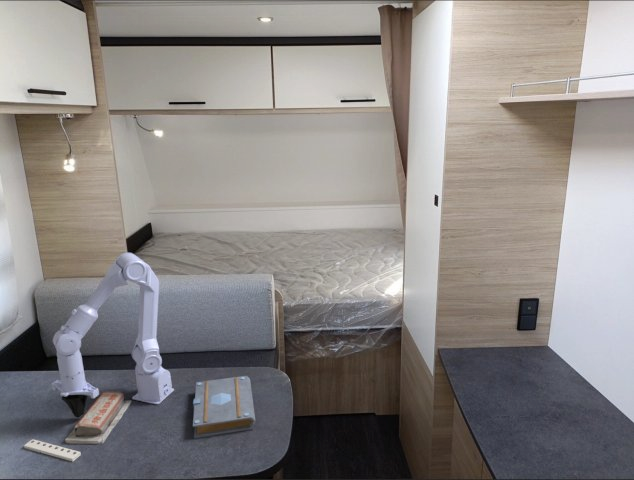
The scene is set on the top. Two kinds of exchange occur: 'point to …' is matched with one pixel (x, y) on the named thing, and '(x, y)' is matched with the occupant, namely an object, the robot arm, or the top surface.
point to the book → (223, 406)
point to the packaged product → (99, 419)
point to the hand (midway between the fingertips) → (79, 415)
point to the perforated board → (52, 450)
